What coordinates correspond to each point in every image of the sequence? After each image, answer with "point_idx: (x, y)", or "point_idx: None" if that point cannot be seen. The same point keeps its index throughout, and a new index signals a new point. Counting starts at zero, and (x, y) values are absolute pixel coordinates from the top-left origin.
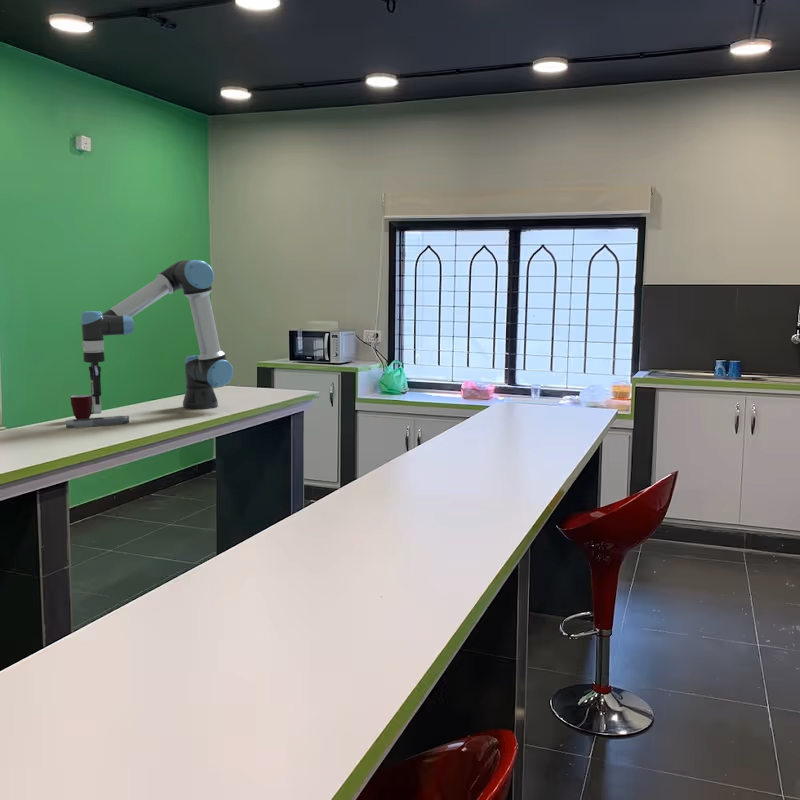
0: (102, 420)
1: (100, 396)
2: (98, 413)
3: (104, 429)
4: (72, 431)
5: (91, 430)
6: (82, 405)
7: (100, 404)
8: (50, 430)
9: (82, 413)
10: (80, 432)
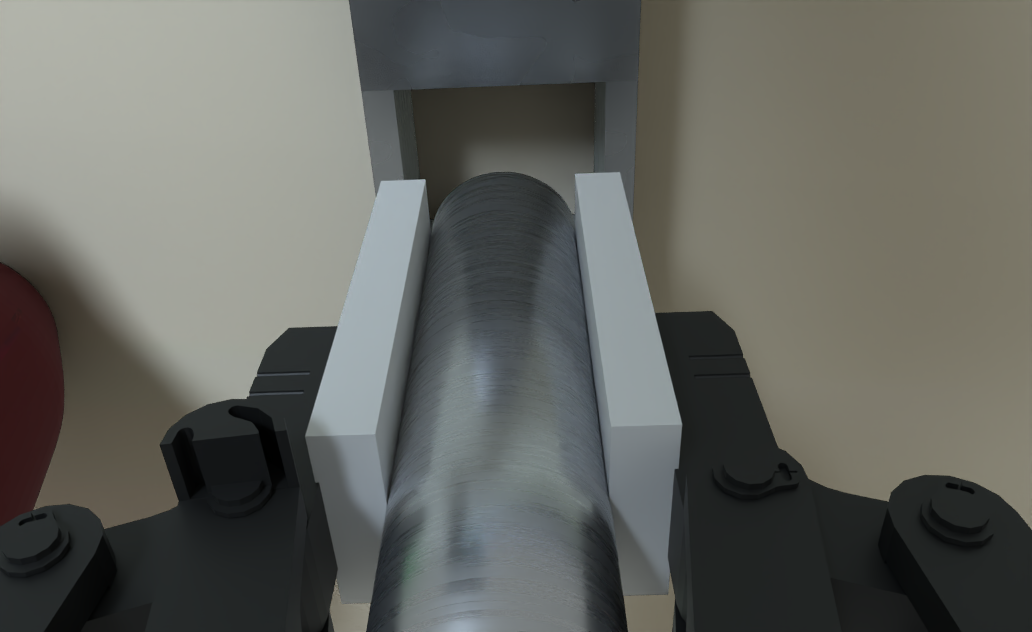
0: (634, 102)
1: (678, 415)
2: (571, 220)
3: (1026, 72)
4: (869, 458)
5: (967, 257)
6: (6, 507)
7: (640, 281)
8: (643, 626)
9: (54, 405)
10: (1020, 386)
